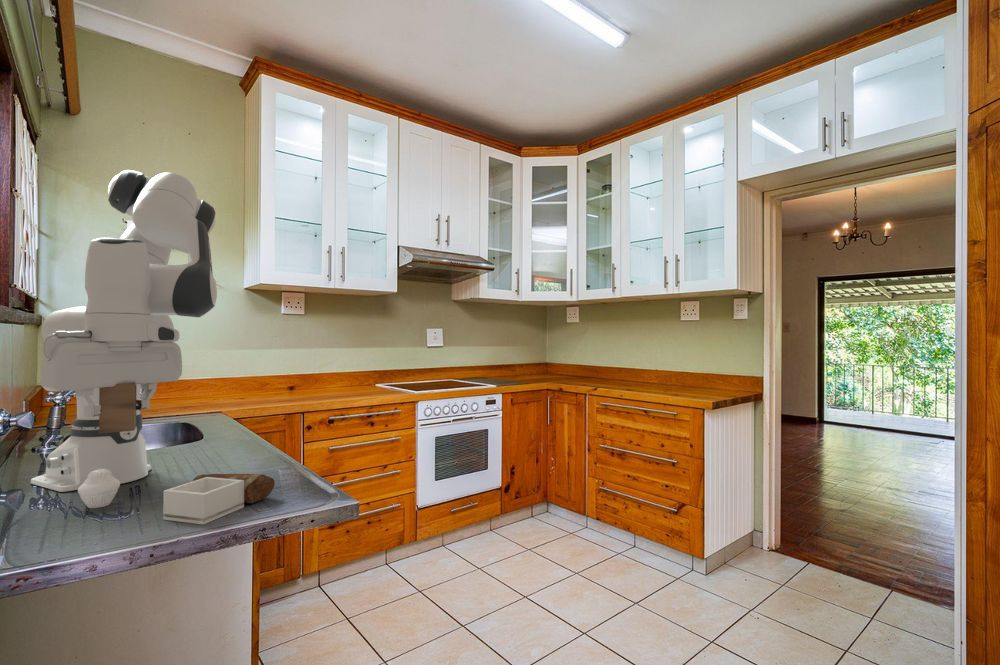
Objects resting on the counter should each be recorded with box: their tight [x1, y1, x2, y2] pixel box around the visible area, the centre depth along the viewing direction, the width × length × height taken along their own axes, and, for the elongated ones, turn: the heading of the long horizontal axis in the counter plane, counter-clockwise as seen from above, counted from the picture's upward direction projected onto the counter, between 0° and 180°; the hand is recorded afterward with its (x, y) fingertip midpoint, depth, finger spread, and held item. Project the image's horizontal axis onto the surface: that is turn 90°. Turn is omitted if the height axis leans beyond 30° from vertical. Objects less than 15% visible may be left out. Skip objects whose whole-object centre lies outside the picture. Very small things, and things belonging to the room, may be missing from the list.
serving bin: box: [162, 477, 245, 525], centre depth 87 cm, size 9×9×5 cm
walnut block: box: [99, 382, 137, 434], centre depth 82 cm, size 5×5×8 cm
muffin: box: [77, 468, 121, 509], centre depth 91 cm, size 6×6×7 cm
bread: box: [190, 473, 276, 504], centre depth 96 cm, size 6×19×6 cm, turn 66°
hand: (118, 412), depth 82 cm, fingers closed on walnut block, 6 cm apart
